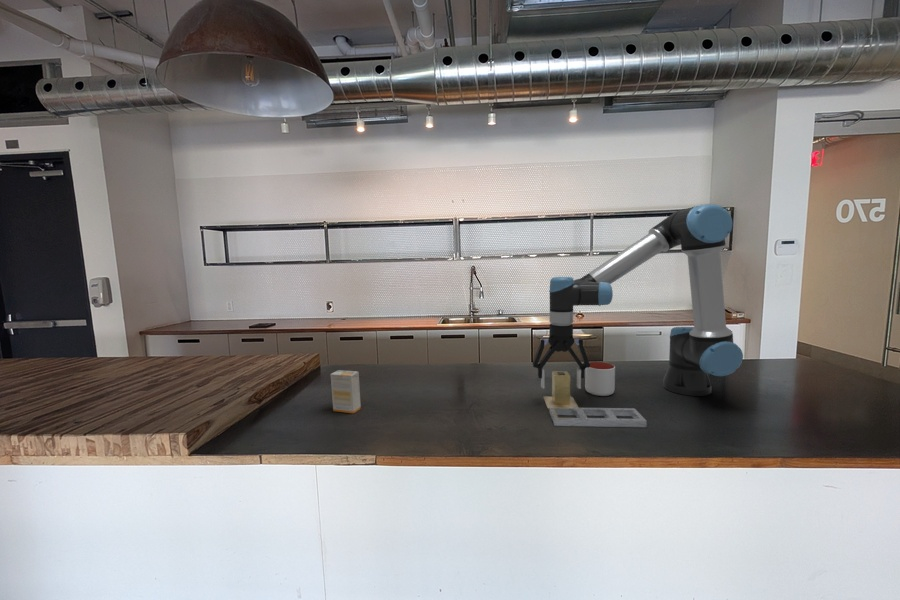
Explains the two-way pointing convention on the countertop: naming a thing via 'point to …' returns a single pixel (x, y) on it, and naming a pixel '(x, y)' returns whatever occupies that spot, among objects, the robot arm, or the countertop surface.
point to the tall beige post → (561, 387)
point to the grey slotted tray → (608, 421)
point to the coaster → (550, 403)
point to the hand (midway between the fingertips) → (560, 387)
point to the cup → (600, 378)
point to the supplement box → (345, 391)
